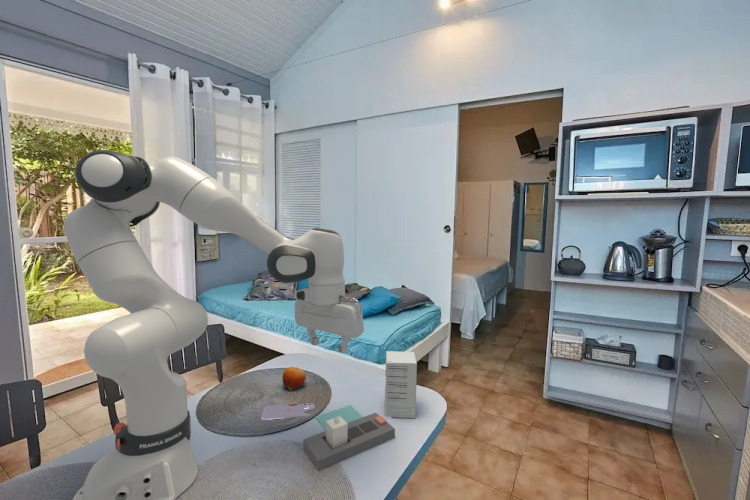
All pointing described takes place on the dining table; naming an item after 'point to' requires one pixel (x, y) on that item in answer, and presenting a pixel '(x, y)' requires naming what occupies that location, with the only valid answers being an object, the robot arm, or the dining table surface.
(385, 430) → the power strip
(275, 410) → the mobile phone
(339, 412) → the teal mat
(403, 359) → the supplement box
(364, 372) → the dining table surface
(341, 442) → the charger plug
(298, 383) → the fruit
